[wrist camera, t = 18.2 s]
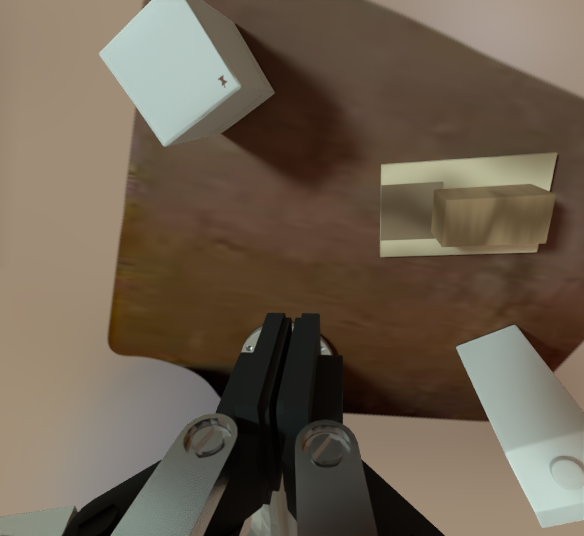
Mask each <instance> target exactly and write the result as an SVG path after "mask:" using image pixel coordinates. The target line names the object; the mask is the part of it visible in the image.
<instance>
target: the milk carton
mask: <svg viewBox="0 0 584 536" xmlns="http://www.w3.org/2000/svg"><path fill="white" fill-rule="evenodd" d="M456 349H457V351H458V353H459V355H460V358H461V360H462V362H463V364H464V366H465V368H466V371H467V373H468V375H469V377H470V379H471V381H472V384H473V386H474V388H475V390H476V392H477V394H478V397H479V399H480V401H481V403H482V405H483V408H484V410H485V412H486V414H487V416H488V418H489V421H490V423H491V425H492V427H493V429H494V431H495V434H496V435H497V438H498V440H499V442H500V444H501V447H502V449H503V451H504V453H505V455H506V457H507V459H508V461H509V463H510V465H511V467H512V469H513V471H514V473H515V475H516V477H517V479H518V481H519V483H520V485H521V487H522V489H523V491H524V493H525V494H526V496H527V498H528V500H529V502H530V504H531V506H532V508H533V510H534V512H535V514H536V516H537V518H538V520H539V523H540V525H541V527H542V528H545V527H550V526H555V525H560V524H565V523H571V522H576V521H581V520H584V412H583V411H582V409H581V408H580V407H579V406H578V404H577V403H576V402H575V400H574V399H573V398H572V397H571V396H570V394H569V393H568V392H567V390H566V389H565V388H564V386H563V385H562V384H561V382H560V381H559V380H558V379H557V377H556V376H555V375H554V373H553V372H552V371H551V370H550V368H549V367H548V366H547V365H546V363H545V362H544V361H543V359H542V358H541V357H540V356H539V354H538V353H537V352H536V350H535V349H534V348H533V347H532V345H531V344H530V343H529V341H528V340H527V339H526V338H525V336H524V335H523V334H522V332H521V331H520V330H519V329H518V327H517V326H516V325H512V326H509V327H507V328H504V329H501V330H499V331H496V332H494V333H491V334H488V335H486V336H483V337H480V338H478V339H475V340H472V341H470V342H467V343H465V344H462V345H459V346H457V347H456Z"/></svg>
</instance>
